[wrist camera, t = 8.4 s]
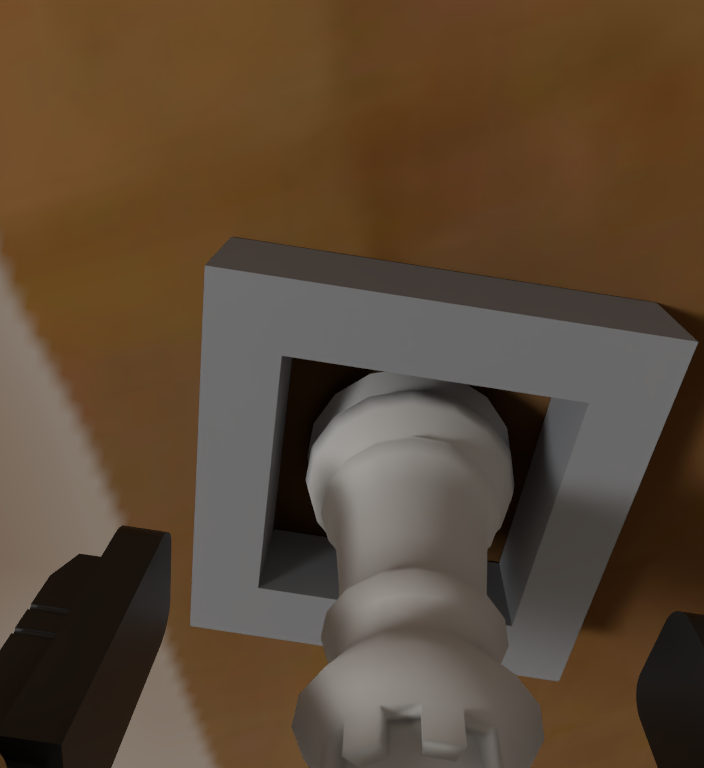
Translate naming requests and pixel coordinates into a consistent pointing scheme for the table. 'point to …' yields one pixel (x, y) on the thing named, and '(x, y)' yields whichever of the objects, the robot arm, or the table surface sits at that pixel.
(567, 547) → the socket plinth
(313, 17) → the table surface
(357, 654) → the rook chess piece
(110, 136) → the table surface
